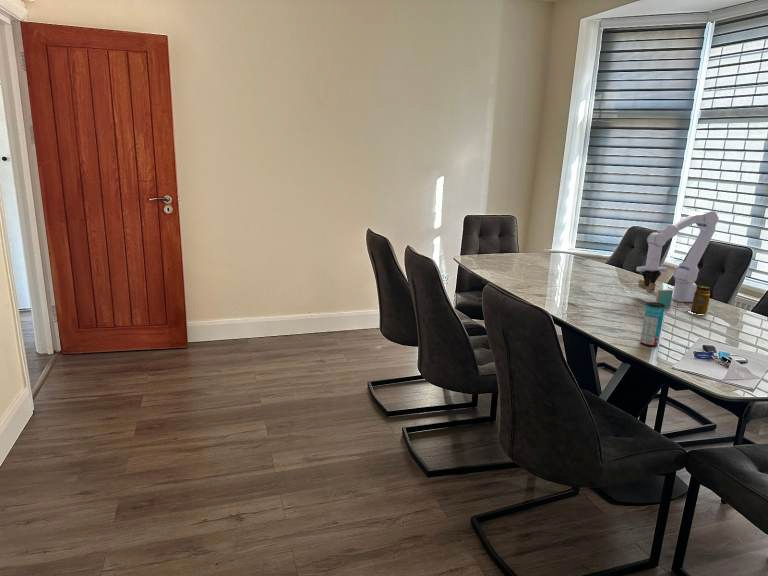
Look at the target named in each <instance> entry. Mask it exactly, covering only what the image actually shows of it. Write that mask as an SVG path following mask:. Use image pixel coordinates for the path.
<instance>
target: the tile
mask: <svg viewBox="0 0 768 576" xmlns="http://www.w3.org/2000/svg"><path fill="white" fill-rule="evenodd" d="M673 292H674V289H673V290H672V289H657V295H656V296H655V301H654V302H655V303H661V304H664V305H665V308H671V305H672V300H673V299H672V297H673Z"/></svg>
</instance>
